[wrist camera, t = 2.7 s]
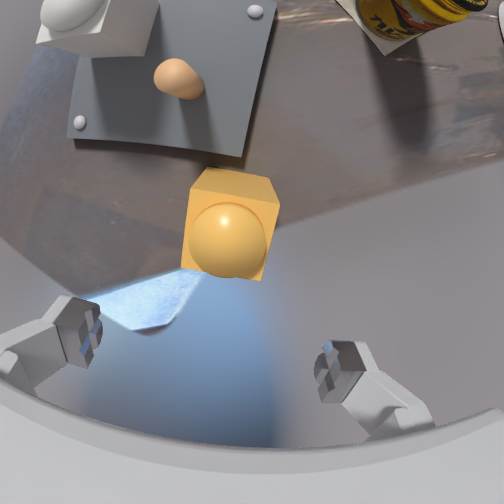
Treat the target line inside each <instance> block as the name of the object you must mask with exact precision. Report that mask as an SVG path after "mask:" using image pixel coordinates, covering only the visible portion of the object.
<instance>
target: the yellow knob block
mask: <svg viewBox="0 0 504 504" xmlns="http://www.w3.org/2000/svg"><path fill="white" fill-rule="evenodd" d="M279 208H280V203H279V201H278V198H277V196H276V194H275V191H274V189H273V187H272V184H271V182H270V180H269V178H267V177H262V176H257V175H252V174H247V173H242V172H236V171H231V170H225V169H219V168H213V167H207V168H206V169H205V170H204V172H203V173H202V174H201V175H200V177H199V178H198V179H197V181H196V182H195V183H194V184H193V186H192V187H191V189H190V195H189V203H188V210H187V218H186V225H185V234H184V242H183V251H182V261H181V268H186V269H191V270H197V271H203V272H207V273H209V274H211V275H214V276H217V277H222V278H234V277H238V278H244V279H250V280H256V281H261V278H262V274H263V271H264V267H265V263H266V259H267V255H268V251H269V247H270V243H271V239H272V236H273V232H274V228H275V224H276V220H277V216H278V212H279Z"/></svg>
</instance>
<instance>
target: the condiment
mask: <svg viewBox="0 0 504 504" xmlns="http://www.w3.org/2000/svg"><path fill="white" fill-rule="evenodd" d="M336 1H338V2H339V4H340V5H341V6H342V7H343V8H344V9H345V10H346V11H347V12H348V13H349V14H350V15H351V17H352V18H353V19H354V20H355V21H356V22H357V24H358V25H359V26H360V27H361V28H362V29H363V30H364V32H365V33H366V34H367V35H368V36H369V38H370V39H371V40H372V41H373V42H374V44H375V45H376V46H377V48H378V49H379V50H380V51H381V53H382V54H383V55H384V56H386V55H387V54H389V53H391V52H392V51H394V50H395V49H397V48H398V47H400V46H402V45H403V44H405V43H406V42H408V41H410V40H411V39H413V38H415V37H416V36H418V35H420V34H422V33H425V32H427V31H430V30H434V29H436V28H439V27H442V26H445V25H448V24H452V23H455V22H458V21H462V20H463V19H465V18H466V17H467V15H468V14H471V13H473V12H476V11H481V10H483V9H484V8H485V7H486V6H487V5H488V4H487V3H488V0H336Z"/></svg>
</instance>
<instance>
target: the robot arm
mask: <svg viewBox="0 0 504 504" xmlns="http://www.w3.org/2000/svg"><path fill="white" fill-rule="evenodd" d="M499 21H500V27H501V31H502V35H503V38H504V2H502V3H501V4H500V7H499ZM100 313H101V312H100V306H99V305H98V304H97V303H93V302H90V301H86V300H83V299H79V298H76V297H72V296H68V295H65V294H62V295H60V296H59V297H58V299H57V300H56V301H55V302H54V303H53V305H52V306H51V307H50V309H49V310H48V311H47V312H46V314H45V315H44V316H43V318H42V319H41V320H40V319H36V320H33V321H31V322H29V323H26V324H24V325H22V326H20V327H18V328H15V329H13V330H10V331H8V332H6V333H3V334H1V335H0V504H504V413H503V412H502V411H500V410H498V409H497V408H489V409H486V410H484V411H481V412H479V413H476V414H473V415H471V416H468V417H465V418H462V419H459V420H456V421H453V422H450V423H447V424H444V425H440V426H437V427H436V426H435V424H434V421H433V420H432V417H431V415H430V413H429V411H428V409H427V407H426V405H425V403H423V402H422V401H421V400H420V399H418V398H417V397H416V396H414V395H413V394H412V393H410V392H409V391H408V390H406V389H405V388H404V387H403V386H401V385H400V384H399V383H397V382H396V381H394V380H393V379H392V378H391V377H389V376H388V375H387V374H386V373H384V372H383V371H379V369H378V367H377V365H376V363H375V361H374V359H373V357H372V355H371V353H370V351H369V348H368V346H367V344H366V343H365V342H364V341H338V340H327V341H326V342H325V344H324V345H323V347H322V348H323V351H324V353H322V354H320V355H319V356H318V358H317V360H316V362H315V367H314V375H315V379H316V381H318V382H319V383H320V384H321V385H320V387H319V388H318V390H319V394H320V398H321V402H322V403H342V405H343V406H344V407H345V408H346V409H347V410H348V411H349V412H350V414H351V415H352V416H353V417H354V418H355V419H356V420H357V421H358V422H359V424H360V425H361V426H362V427H363V428H364V429H365V430H366V431H367V432H368V433H369V435H370V436H369V437H368V438H367V439H366V440H365V441H364V442H361V443H355V444H346V445H336V446H326V447H325V446H324V447H310V448H309V447H308V448H249V447H233V446H222V445H212V444H204V443H196V442H189V441H182V440H176V439H171V438H165V437H160V436H155V435H151V434H146V433H142V432H138V431H133V430H130V429H125V428H122V427H118V426H115V425H111V424H108V423H105V422H101V421H98V420H95V419H92V418H89V417H86V416H83V415H80V414H78V413H75V412H72V411H70V410H67V409H64V408H62V407H59V406H57V405H54V404H52V403H50V402H47V401H45V400H43V399H41V398H39V397H38V395H37V393H36V392H35V390H34V387H36V386H37V385H38V384H40V383H41V382H43V381H44V380H45V379H47V378H48V377H50V376H51V375H53V374H54V373H55V372H57V371H58V370H60V369H61V368H63V367H64V366H65V365H67V363H69V364H73V365H76V366H79V367H83V368H86V369H87V368H88V367H89V364H90V363H91V361H92V359H93V357H94V354H93V350H94V349H96V348H98V346H99V344H100V342H101V338H102V334H103V327H102V322H101V321H100V320H99V318H98V317H99V315H100Z"/></svg>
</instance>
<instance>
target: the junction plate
mask: <svg viewBox="0 0 504 504" xmlns="http://www.w3.org/2000/svg"><path fill="white" fill-rule="evenodd" d="M276 6H277V2H276V1H271V0H45V1H44V2H43V5H42V8H41V13H40V18H41V22H42V24H41V28H40V31H39V34H38V37H37V41H36V44H39V45H43V46H48V47H52V48H56V49H60V50H64V51H68V52H71V53H75V54H78V55H80V56H79V60H78V64H77V69H76V74H75V79H74V84H73V90H72V96H71V102H70V109H69V117H68V125H67V135H66V138H74V139H96V140H112V141H125V142H136V143H146V144H155V145H164V146H172V147H179V148H187V149H194V150H200V151H207V152H213V153H219V154H225V155H230V156H236V157H242V152H243V147H244V142H245V138H246V133H247V128H248V124H249V119H250V114H251V110H252V105H253V101H254V97H255V92H256V88H257V83H258V79H259V75H260V70H261V66H262V62H263V58H264V54H265V50H266V45H267V41H268V37H269V33H270V29H271V25H272V21H273V17H274V14H275V10H276Z"/></svg>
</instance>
